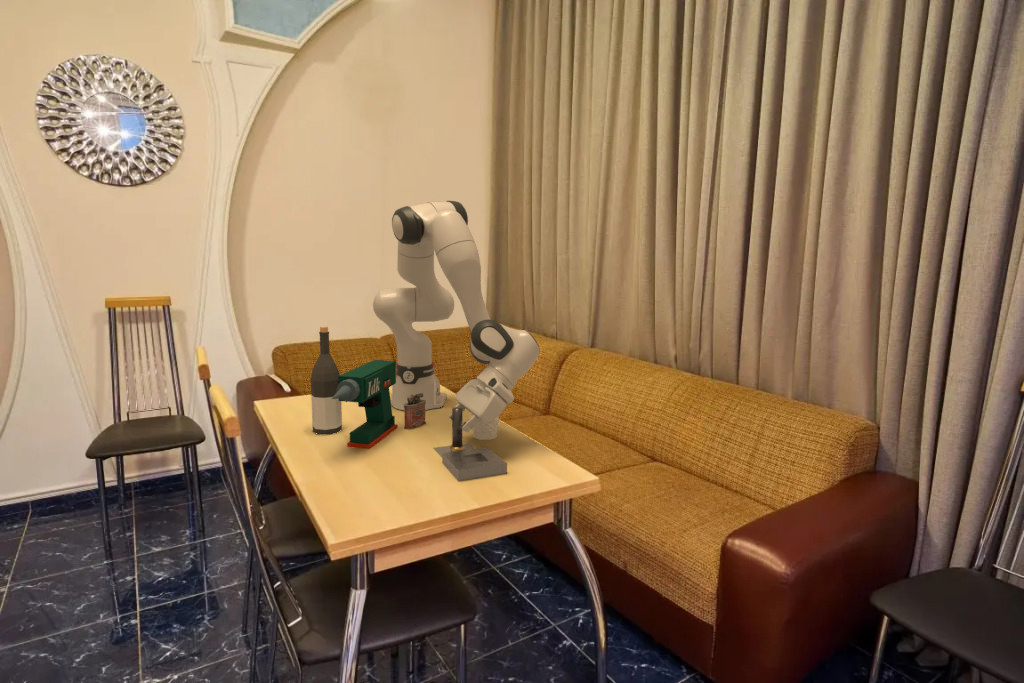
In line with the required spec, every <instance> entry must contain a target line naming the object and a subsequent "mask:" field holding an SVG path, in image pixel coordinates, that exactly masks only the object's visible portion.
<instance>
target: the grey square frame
mask: <svg viewBox="0 0 1024 683" xmlns="http://www.w3.org/2000/svg"><path fill="white" fill-rule="evenodd" d="M441 458H442V459H441V460H442V463H441V464H442V465H443V466H444V467H445V468H446V469H447V470H448V471H449V473H450V474H451V475H452V476H453V477H454V478H455V479H456V480H457V482H464V481H469V480H475V479H483V478H487V477H489V478H490V477H496V476H502V475H507V474H508V463H507V462H506V461H505V460H504V459H503V458H501V457H500V456H499V455H498V454H497V453H496V452H495V451H494V450H492V449H491V448H490V447H488V446H485V447H477V448H475V449H470V450H463V451H455V452H448V453H442V457H441Z"/></svg>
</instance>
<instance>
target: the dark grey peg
mask: <svg viewBox="0 0 1024 683" xmlns="http://www.w3.org/2000/svg"><path fill="white" fill-rule="evenodd" d="M451 409H452V411H451V413H452V420H451V421H452V422H451V423H452V424H451V425H452V429H451V432H452V433H451V434H452V435H451V444H450V445H449V446H450V452H455V451H463V450H464V445H463V444H464V443H463V429H462V428H461V426H462V425H463V418H464V416H463V412H464V411H463V408H461V407H455V406H454V407H452V408H451Z"/></svg>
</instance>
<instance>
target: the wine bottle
mask: <svg viewBox="0 0 1024 683" xmlns="http://www.w3.org/2000/svg"><path fill="white" fill-rule="evenodd" d="M318 334H319V349H320V350H319V352H320V353H319V355H318V358H317V359H316V361H315V364H314V365H313V368H312V372H311V376H310V391H311V393H310V394H311V396H310V397H311V398H310V399H311V418H312V419H311V420H312V422H311V423H312V431H314V432H315V433H317V434H316V435H320V434H329V435H334V434H333V433H336V434H338V433H339V431H340V430H341V431H342V430H343V418H342V417H343V415H342V414H343V412H342V407H343V406H342V401H339V399H332V398H333V396H334V395H335V394H336V393H337V392H336V389H337V385H338V376H339V375H341V374H340V371H339V369H338V366H337V364H336V362H335V360H334V359H333V357H332V356H331V353H330V331H329V327H328V325H326V326H325V325H323V326H322V325H321V326H320V327H319V332H318ZM341 431H340V432H341ZM314 432H313V433H314ZM337 432H338V433H337Z"/></svg>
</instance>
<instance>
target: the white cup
mask: <svg viewBox="0 0 1024 683" xmlns="http://www.w3.org/2000/svg"><path fill="white" fill-rule="evenodd" d="M472 416H473V414H472V413H471V417H472ZM499 417H500V415H499V416H498V417H497V418H496V419H495V420H494V421H493V422H491V423H490V424H485V423H484V422H483V421H481V422H480V423H479V424H478V425H476V426H474V427H472V428H471V429H472V437H473V438H474V439H476V440H480V441H481V440H482V441H490V440H494V439H496V438H497V437H498V429H499V428H498V427H499V422H500V421H499V420H500V419H499Z"/></svg>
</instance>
